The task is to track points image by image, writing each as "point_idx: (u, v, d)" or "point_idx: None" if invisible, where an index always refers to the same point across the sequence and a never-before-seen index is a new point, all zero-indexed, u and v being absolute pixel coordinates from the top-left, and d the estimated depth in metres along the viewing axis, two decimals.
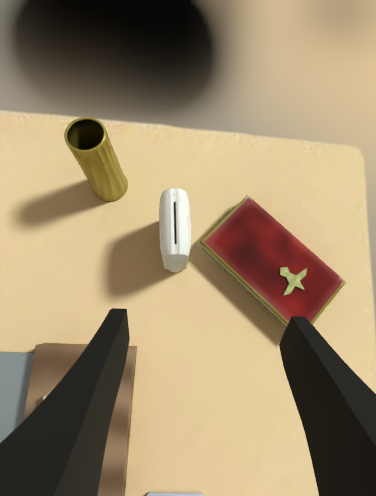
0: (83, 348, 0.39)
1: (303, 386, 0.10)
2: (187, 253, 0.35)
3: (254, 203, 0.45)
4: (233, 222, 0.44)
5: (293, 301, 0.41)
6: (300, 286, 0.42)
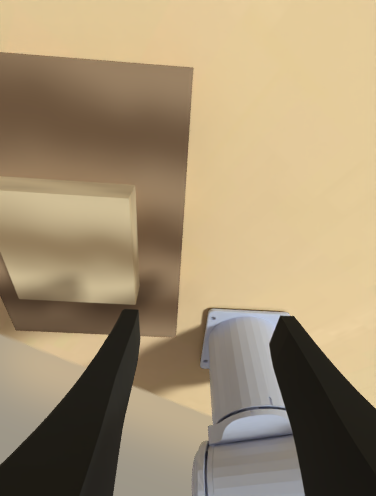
0: (39, 60, 0.13)
1: (291, 386, 0.10)
2: None
3: None
4: None
5: None
6: None
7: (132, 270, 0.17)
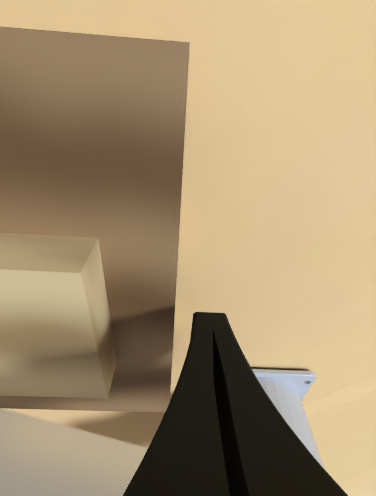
0: None
1: (213, 384, 0.10)
2: None
3: None
4: None
5: None
6: None
7: (98, 362, 0.11)
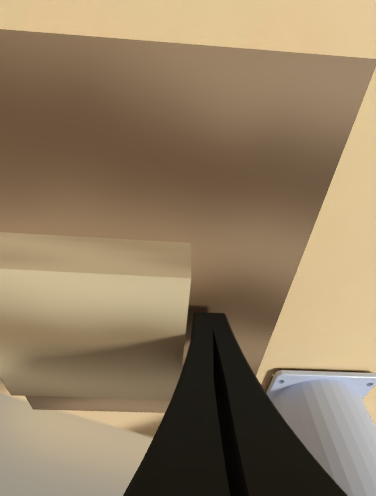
0: (94, 47, 0.07)
1: (213, 384, 0.10)
2: None
3: None
4: None
5: None
6: None
7: (180, 365, 0.11)
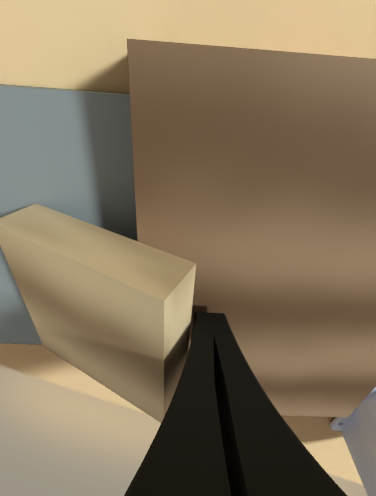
0: None
1: None
2: None
3: None
4: None
5: None
6: None
7: (162, 389, 0.10)
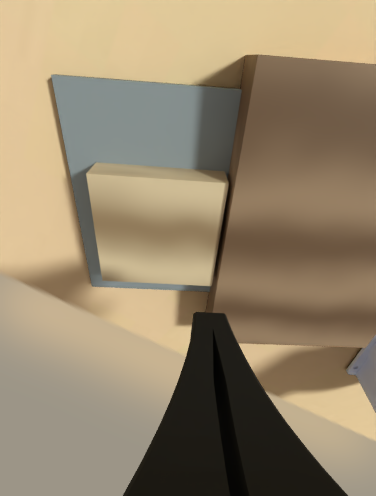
0: None
1: (213, 384, 0.10)
2: None
3: None
4: None
5: None
6: None
7: (216, 252, 0.18)
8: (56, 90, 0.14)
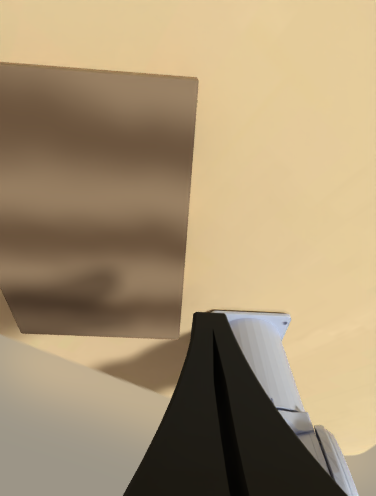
0: (45, 73, 0.13)
1: (213, 383, 0.10)
2: None
3: None
4: None
5: None
6: None
7: None
8: None
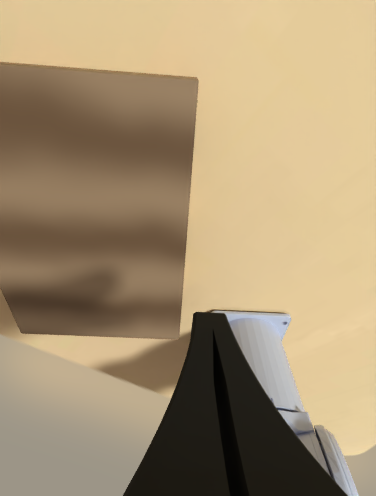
0: (45, 73, 0.13)
1: (213, 383, 0.10)
2: None
3: None
4: None
5: None
6: None
7: None
8: None
